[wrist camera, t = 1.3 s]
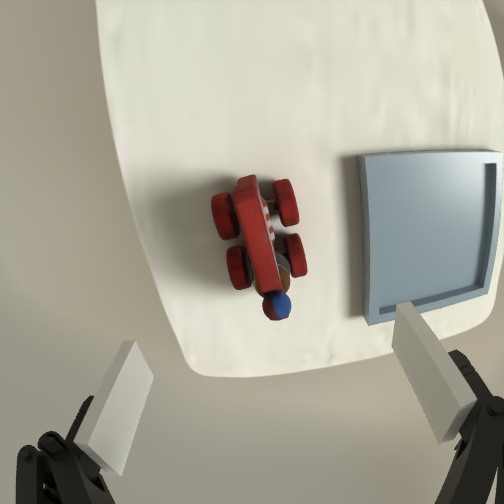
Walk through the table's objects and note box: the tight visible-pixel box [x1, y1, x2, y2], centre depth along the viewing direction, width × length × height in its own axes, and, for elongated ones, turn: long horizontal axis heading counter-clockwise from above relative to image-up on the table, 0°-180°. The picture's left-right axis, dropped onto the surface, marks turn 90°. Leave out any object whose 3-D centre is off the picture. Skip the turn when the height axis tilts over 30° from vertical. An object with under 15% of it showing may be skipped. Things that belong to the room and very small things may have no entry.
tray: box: [358, 150, 503, 326], centre depth 27 cm, size 18×18×2 cm
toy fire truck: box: [211, 175, 307, 321], centre depth 24 cm, size 7×12×10 cm, turn 13°
